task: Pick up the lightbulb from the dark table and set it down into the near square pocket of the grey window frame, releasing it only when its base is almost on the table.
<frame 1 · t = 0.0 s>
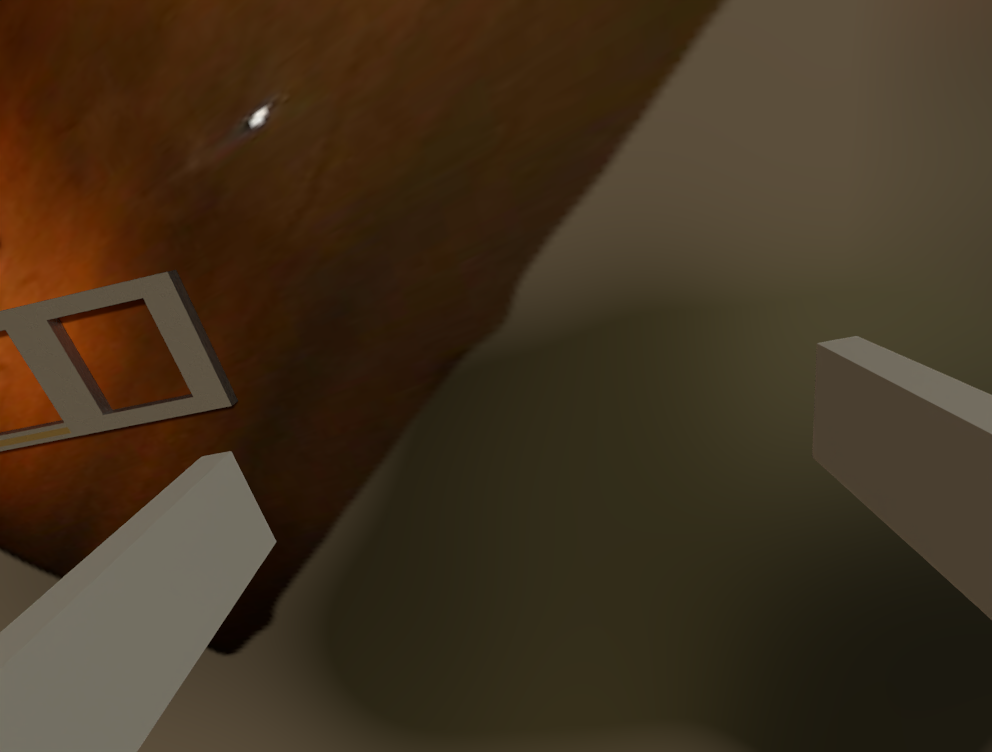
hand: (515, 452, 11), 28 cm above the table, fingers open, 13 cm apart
grey window frame: (66, 369, 41), on the table
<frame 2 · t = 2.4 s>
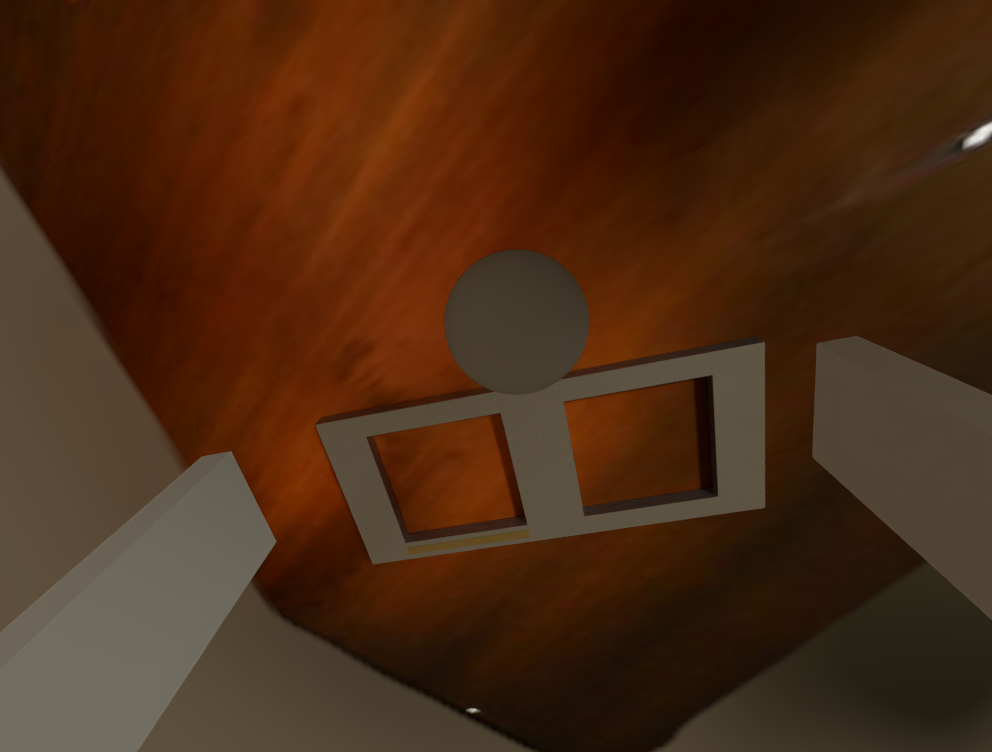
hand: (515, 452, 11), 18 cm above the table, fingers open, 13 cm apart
lightbulb: (515, 284, 27), on the table
grey window frame: (543, 458, 32), on the table
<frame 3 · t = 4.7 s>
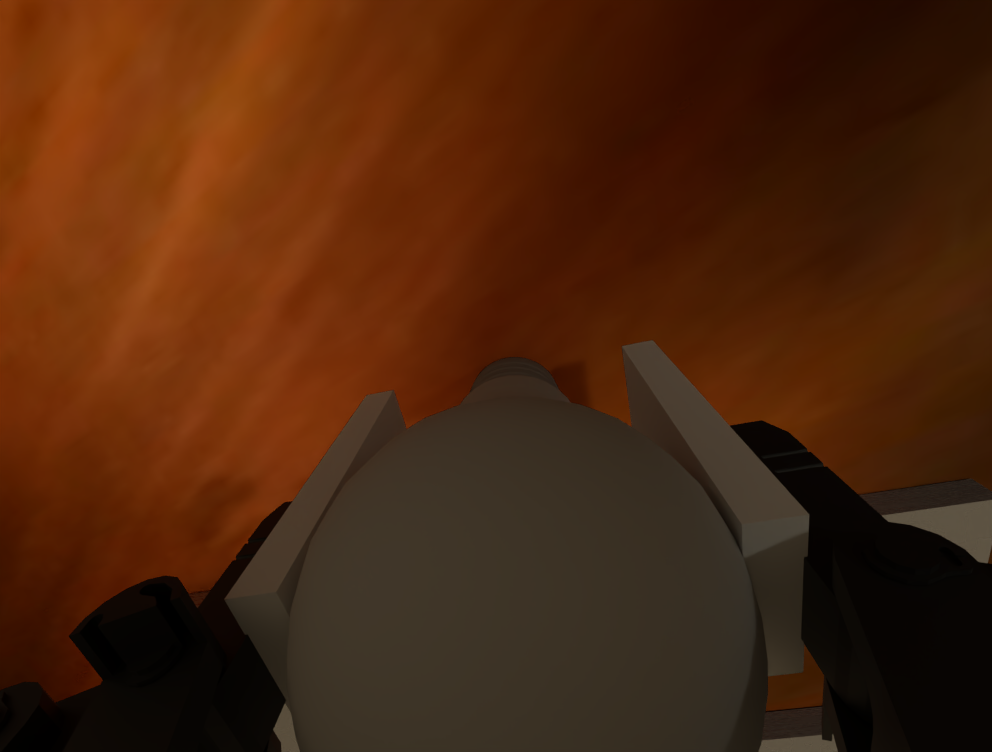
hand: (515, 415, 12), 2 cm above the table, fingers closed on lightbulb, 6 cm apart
lightbulb: (514, 384, 14), on the table, touching gripper
grey window frame: (562, 660, 18), on the table
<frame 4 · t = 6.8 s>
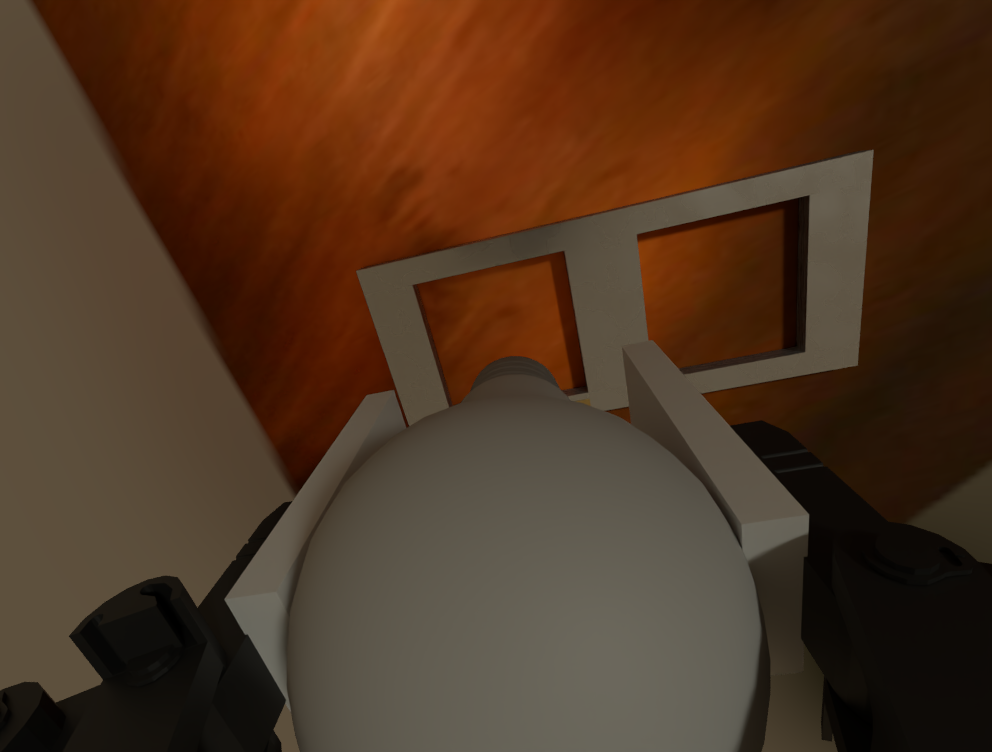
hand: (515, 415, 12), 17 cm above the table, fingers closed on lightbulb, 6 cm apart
lightbulb: (514, 383, 14), point 15 cm above the table, touching gripper
grey window frame: (607, 314, 28), on the table
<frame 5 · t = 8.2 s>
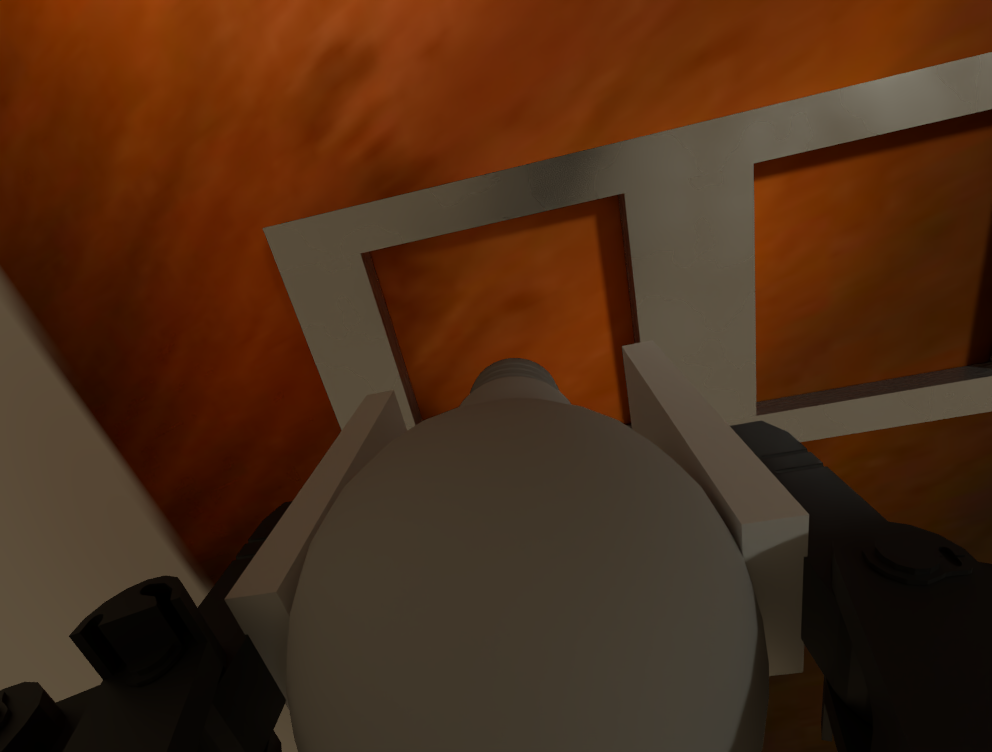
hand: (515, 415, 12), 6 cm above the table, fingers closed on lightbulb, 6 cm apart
lightbulb: (514, 385, 14), point 4 cm above the table, touching gripper
grey window frame: (686, 307, 17), on the table
when the fingers open (3 cm above the table, at t = 9.2 s): lightbulb stays where it is, resting in grey window frame.
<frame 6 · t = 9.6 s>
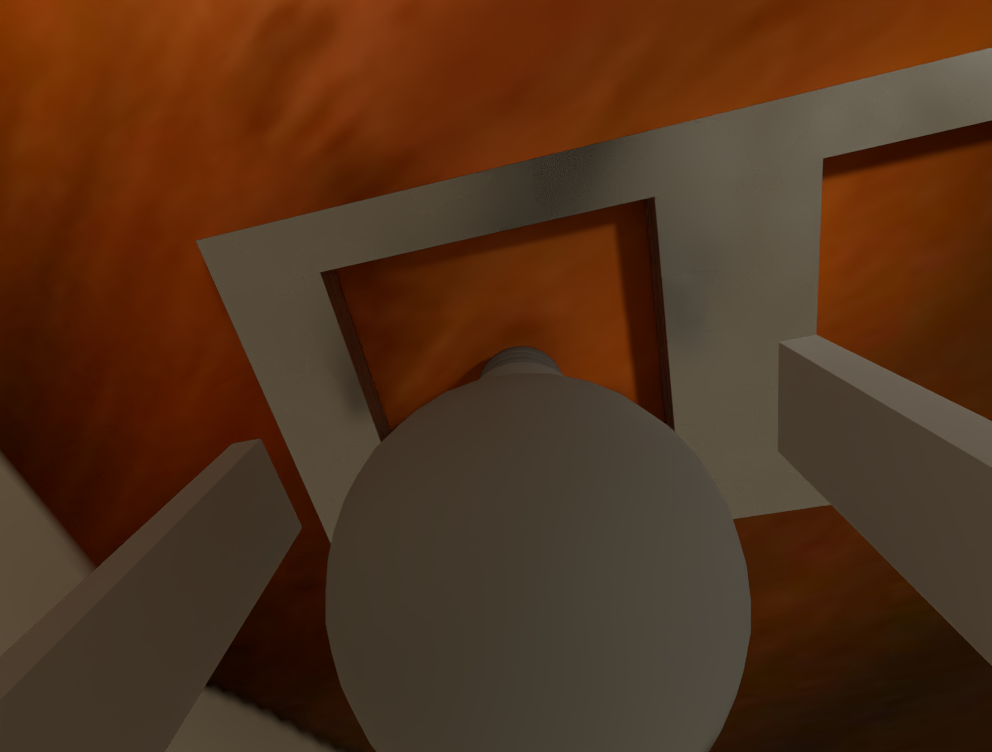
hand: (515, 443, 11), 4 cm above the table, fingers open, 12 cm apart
lightbulb: (520, 373, 15), resting in grey window frame
grey window frame: (726, 336, 14), on the table
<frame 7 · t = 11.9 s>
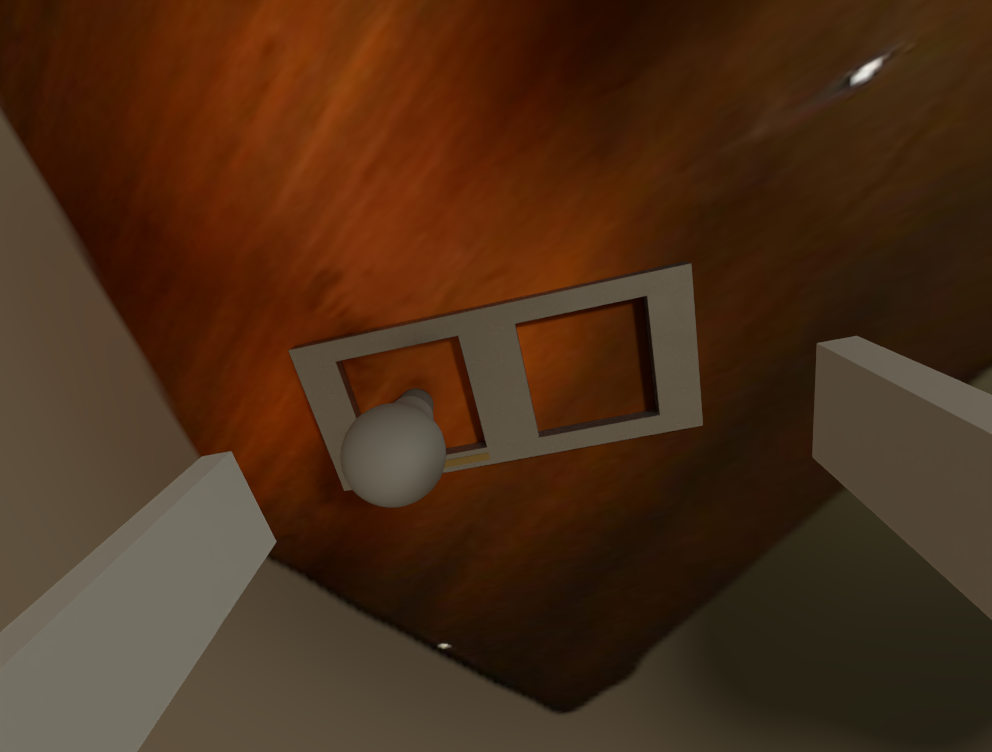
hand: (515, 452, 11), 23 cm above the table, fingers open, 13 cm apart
lightbulb: (419, 398, 35), resting in grey window frame
grey window frame: (500, 383, 34), on the table
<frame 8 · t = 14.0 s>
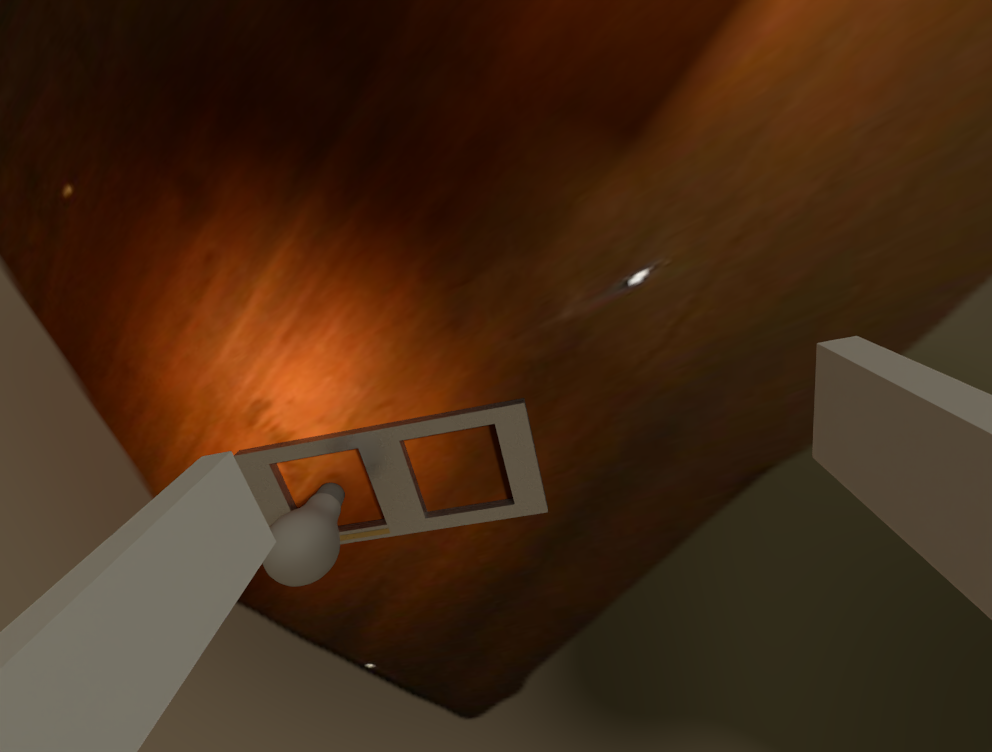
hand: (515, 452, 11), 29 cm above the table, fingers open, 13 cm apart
lightbulb: (335, 487, 46), resting in grey window frame
grey window frame: (395, 478, 45), on the table
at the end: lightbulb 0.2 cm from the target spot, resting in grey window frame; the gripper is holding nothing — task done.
